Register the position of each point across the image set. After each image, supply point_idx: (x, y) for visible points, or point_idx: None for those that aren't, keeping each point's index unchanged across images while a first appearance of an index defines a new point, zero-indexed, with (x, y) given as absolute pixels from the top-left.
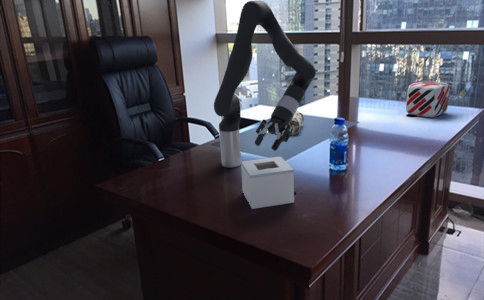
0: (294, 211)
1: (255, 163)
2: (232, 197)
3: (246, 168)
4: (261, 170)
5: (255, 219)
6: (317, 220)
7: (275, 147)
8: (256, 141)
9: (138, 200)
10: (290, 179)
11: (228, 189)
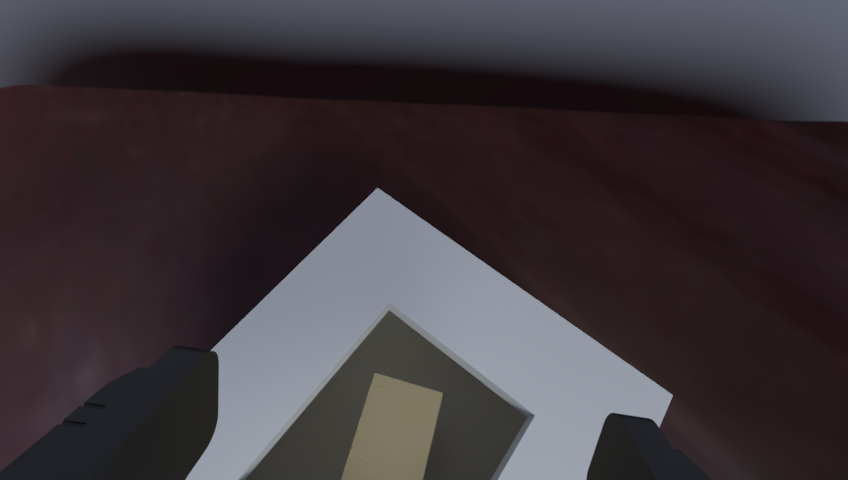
0: None
1: (525, 433)
2: None
3: (500, 282)
4: (361, 310)
5: (309, 221)
6: (5, 362)
7: (127, 381)
8: (644, 440)
9: (798, 123)
10: None
11: None
